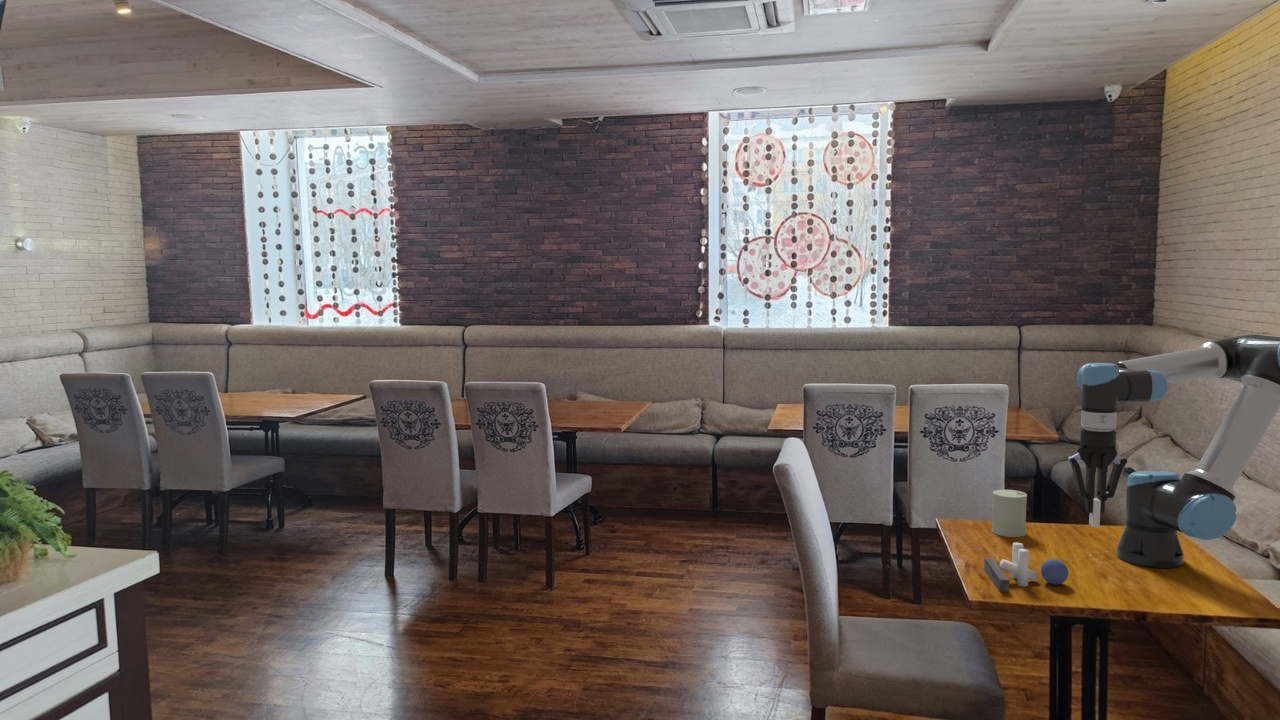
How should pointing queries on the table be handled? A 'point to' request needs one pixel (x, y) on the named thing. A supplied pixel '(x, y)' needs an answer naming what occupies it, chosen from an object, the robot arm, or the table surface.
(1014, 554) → the pin back right
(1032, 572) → the pin front
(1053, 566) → the ball
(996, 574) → the back wall
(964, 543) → the table surface
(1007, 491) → the can
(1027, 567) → the pin back left
